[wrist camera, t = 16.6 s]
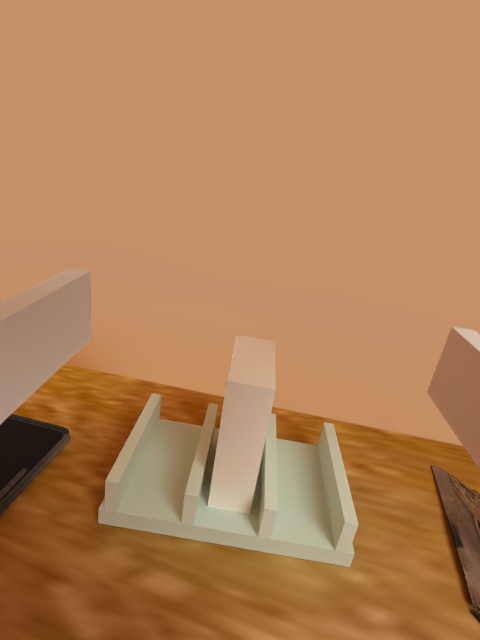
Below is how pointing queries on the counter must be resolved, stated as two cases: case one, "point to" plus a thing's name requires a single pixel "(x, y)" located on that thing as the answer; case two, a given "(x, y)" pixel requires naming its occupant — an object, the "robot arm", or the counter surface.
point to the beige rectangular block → (243, 424)
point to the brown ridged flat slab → (463, 527)
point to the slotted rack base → (225, 525)
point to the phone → (25, 453)
